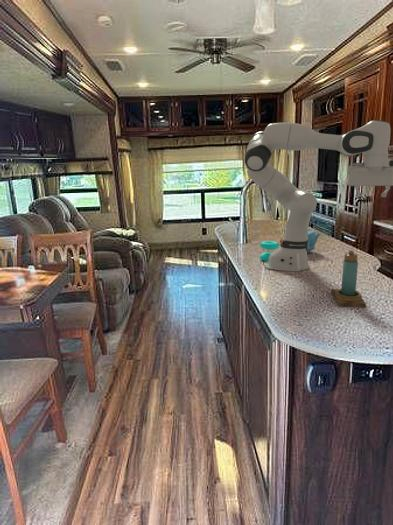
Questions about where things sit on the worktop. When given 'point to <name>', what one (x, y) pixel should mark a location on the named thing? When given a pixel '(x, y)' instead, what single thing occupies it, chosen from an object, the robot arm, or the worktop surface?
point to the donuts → (269, 246)
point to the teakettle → (312, 239)
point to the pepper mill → (349, 274)
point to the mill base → (348, 299)
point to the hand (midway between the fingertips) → (371, 197)
